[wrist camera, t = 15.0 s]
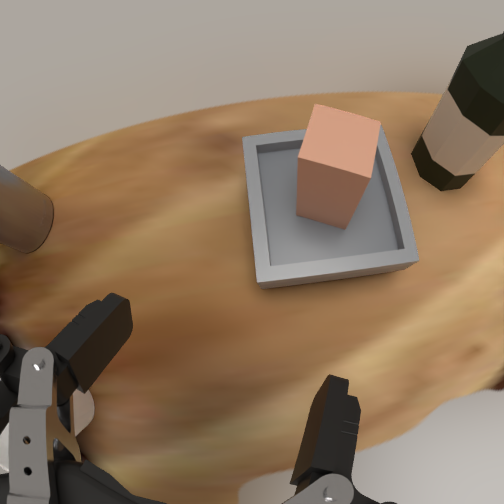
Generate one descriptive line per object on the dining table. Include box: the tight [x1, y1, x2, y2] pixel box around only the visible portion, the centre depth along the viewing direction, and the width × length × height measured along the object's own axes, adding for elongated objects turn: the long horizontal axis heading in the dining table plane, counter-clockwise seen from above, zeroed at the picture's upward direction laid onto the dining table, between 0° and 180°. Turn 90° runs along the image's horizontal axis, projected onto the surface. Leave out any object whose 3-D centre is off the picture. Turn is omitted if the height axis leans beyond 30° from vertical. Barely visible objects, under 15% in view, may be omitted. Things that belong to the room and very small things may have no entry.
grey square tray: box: [242, 124, 419, 289], centre depth 30 cm, size 14×14×7 cm
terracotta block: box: [296, 104, 381, 230], centre depth 23 cm, size 5×5×10 cm
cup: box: [0, 379, 95, 472], centre depth 25 cm, size 12×12×14 cm
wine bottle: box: [411, 32, 504, 191], centre depth 19 cm, size 8×8×30 cm
